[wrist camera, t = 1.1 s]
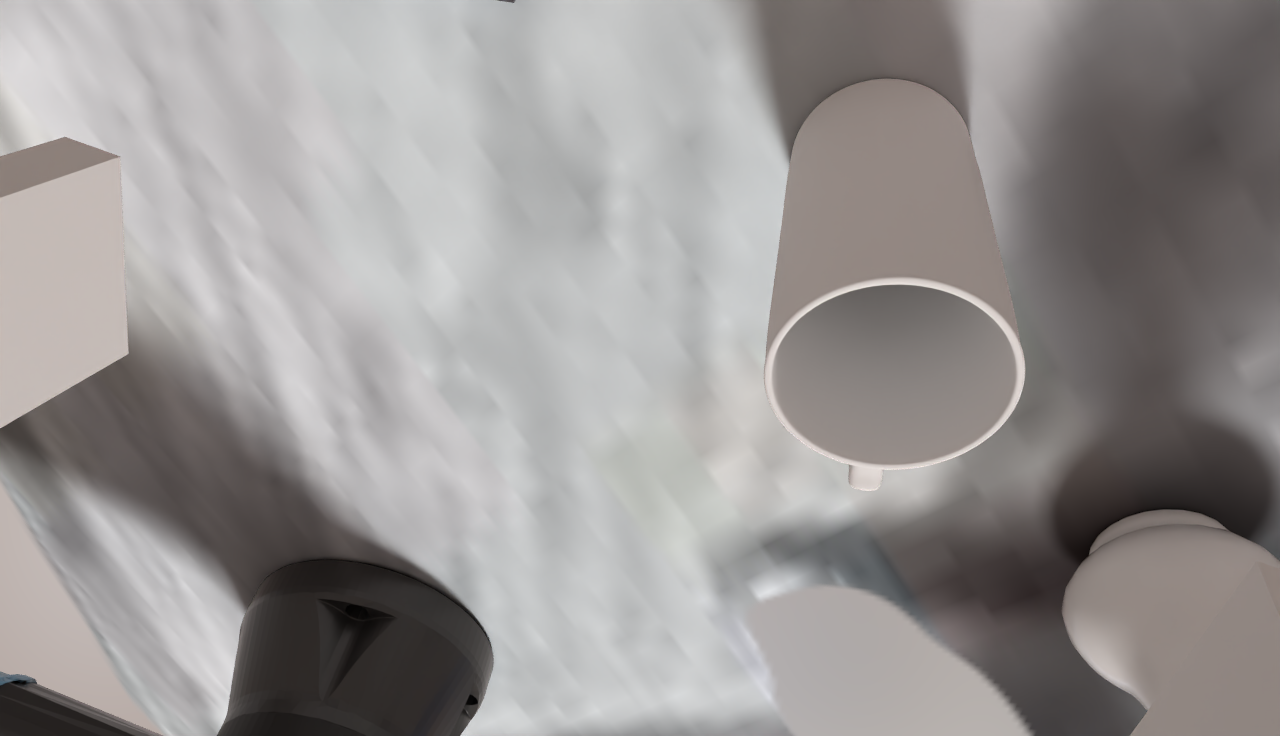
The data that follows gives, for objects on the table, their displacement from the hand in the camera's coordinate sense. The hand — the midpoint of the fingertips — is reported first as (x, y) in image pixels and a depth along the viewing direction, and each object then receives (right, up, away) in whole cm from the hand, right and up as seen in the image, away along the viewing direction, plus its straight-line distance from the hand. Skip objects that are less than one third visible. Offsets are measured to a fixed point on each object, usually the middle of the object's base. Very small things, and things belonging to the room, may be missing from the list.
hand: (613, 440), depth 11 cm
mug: (+9, +7, +25) cm, 28 cm away
